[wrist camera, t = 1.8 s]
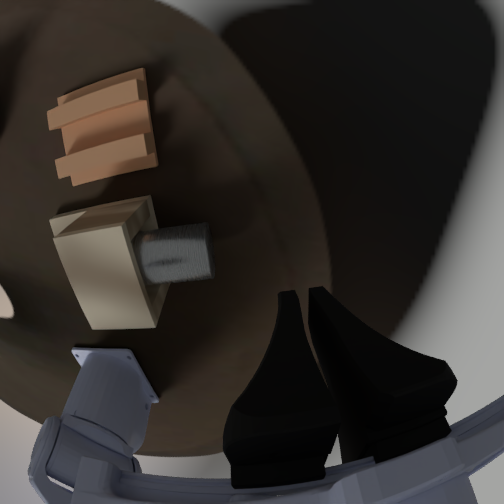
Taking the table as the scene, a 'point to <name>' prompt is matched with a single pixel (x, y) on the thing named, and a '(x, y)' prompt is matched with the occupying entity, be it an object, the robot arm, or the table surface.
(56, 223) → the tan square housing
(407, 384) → the robot arm
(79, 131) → the cradle
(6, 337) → the table surface
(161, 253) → the axle
